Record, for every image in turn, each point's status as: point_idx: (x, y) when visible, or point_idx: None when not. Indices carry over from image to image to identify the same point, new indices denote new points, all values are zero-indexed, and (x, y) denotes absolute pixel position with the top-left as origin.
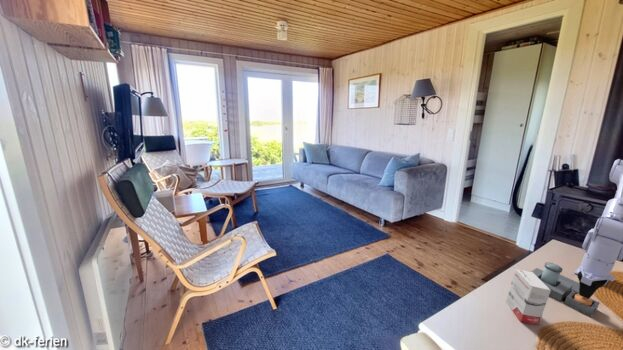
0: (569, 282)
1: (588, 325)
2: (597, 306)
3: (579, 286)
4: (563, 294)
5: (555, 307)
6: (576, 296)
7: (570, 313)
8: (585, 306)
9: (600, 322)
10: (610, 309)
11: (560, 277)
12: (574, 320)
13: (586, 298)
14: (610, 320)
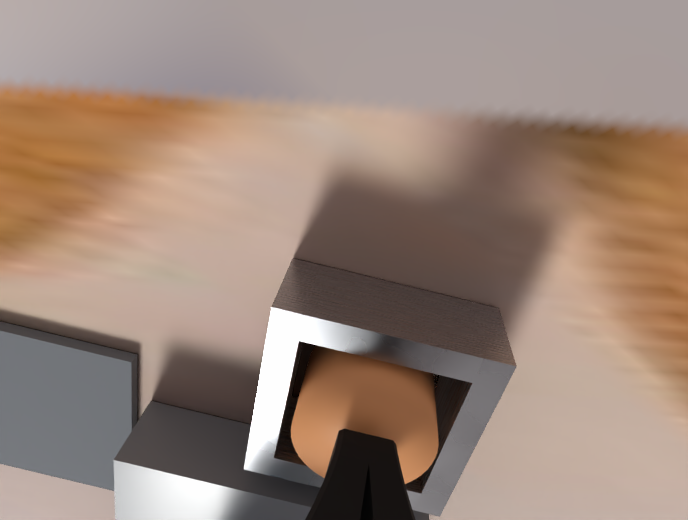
0: (20, 411)
1: (682, 330)
2: (331, 302)
3: (3, 358)
4: None
5: (561, 492)
6: None
7: (572, 422)
8: (487, 410)
9: (536, 246)
10: (155, 151)
11: (10, 454)
12: (674, 407)
13: (346, 422)
14: (407, 166)
